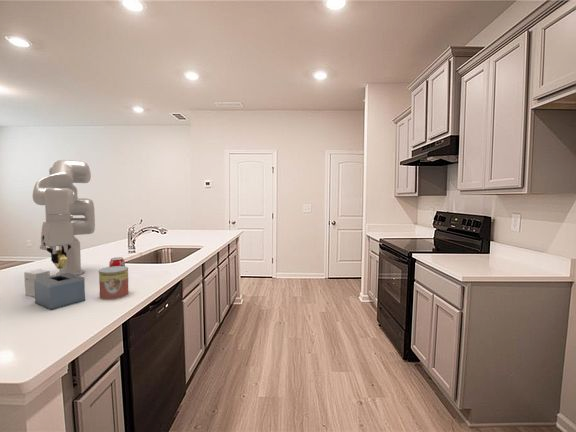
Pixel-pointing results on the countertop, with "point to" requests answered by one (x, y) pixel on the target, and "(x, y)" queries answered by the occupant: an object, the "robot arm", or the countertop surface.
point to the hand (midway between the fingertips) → (59, 262)
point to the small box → (30, 280)
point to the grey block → (59, 290)
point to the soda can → (117, 262)
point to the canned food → (113, 282)
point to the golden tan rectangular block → (60, 260)
